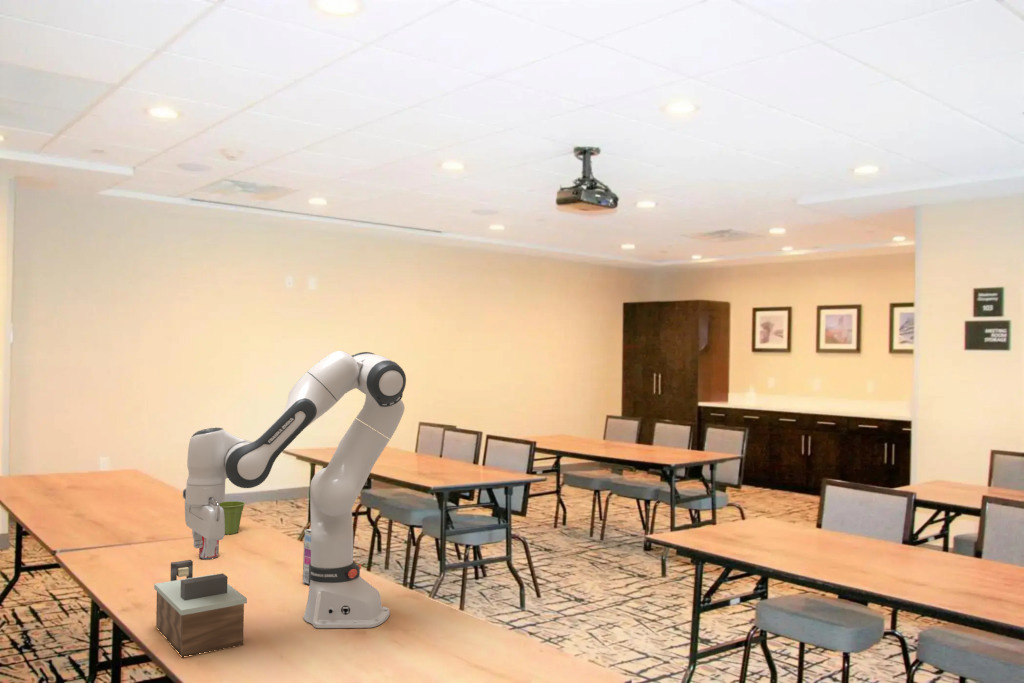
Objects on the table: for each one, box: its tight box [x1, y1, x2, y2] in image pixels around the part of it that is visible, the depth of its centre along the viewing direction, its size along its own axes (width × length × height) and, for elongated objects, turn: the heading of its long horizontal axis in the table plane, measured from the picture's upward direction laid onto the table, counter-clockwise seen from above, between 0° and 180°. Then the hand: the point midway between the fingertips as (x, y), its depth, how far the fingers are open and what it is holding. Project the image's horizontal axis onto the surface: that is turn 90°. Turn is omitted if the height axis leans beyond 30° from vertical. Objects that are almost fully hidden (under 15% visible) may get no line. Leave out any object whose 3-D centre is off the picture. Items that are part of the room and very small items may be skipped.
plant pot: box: [219, 500, 246, 536], centre depth 302 cm, size 12×12×11 cm
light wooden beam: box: [177, 566, 189, 578], centre depth 207 cm, size 8×2×2 cm, turn 38°
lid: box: [153, 573, 248, 615], centre depth 193 cm, size 25×15×6 cm, turn 38°
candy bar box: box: [302, 528, 311, 587], centre depth 239 cm, size 11×5×16 cm, turn 141°
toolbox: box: [155, 559, 245, 657], centre depth 195 cm, size 29×14×15 cm, turn 38°
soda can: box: [198, 536, 220, 560], centre depth 265 cm, size 6×6×12 cm
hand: (203, 551), depth 190 cm, fingers open, 8 cm apart
